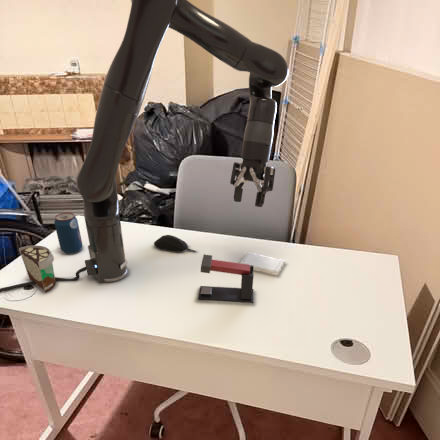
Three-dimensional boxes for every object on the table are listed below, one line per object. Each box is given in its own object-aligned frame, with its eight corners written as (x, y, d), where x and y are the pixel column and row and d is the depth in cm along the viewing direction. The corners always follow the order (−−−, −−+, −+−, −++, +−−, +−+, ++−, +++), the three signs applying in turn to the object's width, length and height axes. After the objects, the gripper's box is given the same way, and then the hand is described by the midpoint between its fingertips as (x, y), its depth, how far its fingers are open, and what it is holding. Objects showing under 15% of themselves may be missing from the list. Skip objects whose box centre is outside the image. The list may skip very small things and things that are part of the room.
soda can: (87, 249, 130) (80, 215, 123) (68, 257, 126) (60, 222, 119) (75, 243, 134) (68, 209, 127) (57, 250, 129) (48, 216, 123)
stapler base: (197, 301, 107) (197, 273, 102) (200, 289, 112) (200, 261, 107) (253, 304, 107) (255, 276, 101) (253, 292, 111) (255, 264, 106)
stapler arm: (200, 272, 102) (201, 265, 101) (202, 260, 107) (203, 254, 106) (249, 279, 102) (250, 272, 101) (249, 267, 107) (250, 260, 106)
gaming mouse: (191, 256, 128) (191, 245, 125) (150, 248, 132) (149, 237, 130) (199, 247, 133) (198, 237, 130) (159, 240, 137) (158, 229, 134)
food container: (68, 286, 112) (60, 255, 107) (47, 294, 109) (39, 263, 103) (47, 270, 119) (39, 240, 114) (27, 277, 115) (17, 247, 110)
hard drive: (239, 263, 122) (277, 271, 118) (248, 251, 128) (285, 259, 124) (238, 267, 123) (277, 276, 119) (247, 255, 129) (284, 264, 125)
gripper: (229, 138, 106) (220, 199, 111) (267, 140, 96) (256, 207, 101) (249, 142, 111) (240, 201, 116) (287, 145, 101) (275, 209, 106)
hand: (247, 204), depth 108 cm, fingers open, 8 cm apart
